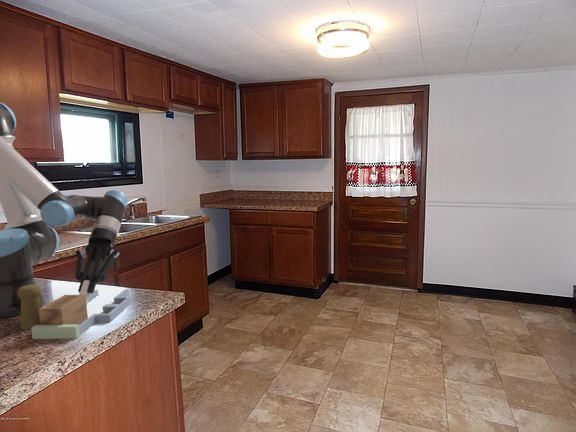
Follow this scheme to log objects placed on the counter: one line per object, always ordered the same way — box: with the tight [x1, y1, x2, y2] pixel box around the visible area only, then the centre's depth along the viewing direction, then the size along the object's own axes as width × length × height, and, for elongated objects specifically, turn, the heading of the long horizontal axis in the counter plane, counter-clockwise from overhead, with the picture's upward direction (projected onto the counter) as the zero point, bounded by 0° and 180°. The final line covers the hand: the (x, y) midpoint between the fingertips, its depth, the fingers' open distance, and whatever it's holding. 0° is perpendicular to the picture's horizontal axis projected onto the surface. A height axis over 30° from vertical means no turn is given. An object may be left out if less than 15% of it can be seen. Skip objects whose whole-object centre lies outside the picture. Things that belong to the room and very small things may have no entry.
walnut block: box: [39, 294, 89, 325], centre depth 102 cm, size 6×10×7 cm, turn 176°
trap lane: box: [30, 288, 133, 340], centre depth 110 cm, size 15×30×3 cm, turn 179°
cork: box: [18, 284, 43, 331], centre depth 103 cm, size 6×6×11 cm
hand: (81, 303), depth 108 cm, fingers closed
